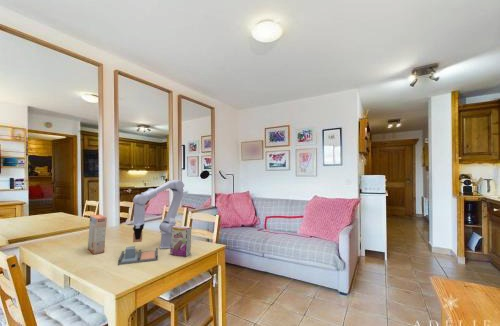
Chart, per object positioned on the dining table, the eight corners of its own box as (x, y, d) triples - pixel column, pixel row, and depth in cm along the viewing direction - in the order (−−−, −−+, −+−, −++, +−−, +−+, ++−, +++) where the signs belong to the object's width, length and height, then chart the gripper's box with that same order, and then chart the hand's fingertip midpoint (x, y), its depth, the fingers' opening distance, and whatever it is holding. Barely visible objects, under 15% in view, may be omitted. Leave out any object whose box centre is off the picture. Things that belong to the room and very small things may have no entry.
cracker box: (105, 252, 132) (107, 217, 134) (92, 255, 128) (95, 218, 129) (98, 247, 142) (100, 213, 143) (87, 249, 138) (89, 215, 139)
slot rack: (157, 252, 136) (157, 247, 136) (157, 260, 123) (157, 255, 123) (121, 255, 128) (122, 251, 128) (118, 264, 115) (118, 260, 115)
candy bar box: (169, 254, 132) (170, 226, 132) (175, 252, 136) (176, 225, 137) (185, 257, 128) (186, 228, 129) (190, 254, 133) (191, 226, 133)
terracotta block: (142, 239, 134) (142, 231, 135) (141, 241, 130) (141, 233, 130) (133, 240, 133) (134, 231, 133) (132, 242, 129) (133, 233, 129)
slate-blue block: (134, 255, 127) (135, 246, 127) (134, 257, 122) (134, 248, 123) (125, 256, 125) (126, 246, 125) (124, 258, 121) (125, 249, 121)
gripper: (133, 213, 138) (132, 235, 137) (130, 217, 124) (128, 242, 123) (145, 212, 140) (144, 234, 140) (144, 216, 127) (143, 241, 126)
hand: (138, 238), depth 132 cm, fingers closed on terracotta block, 4 cm apart
